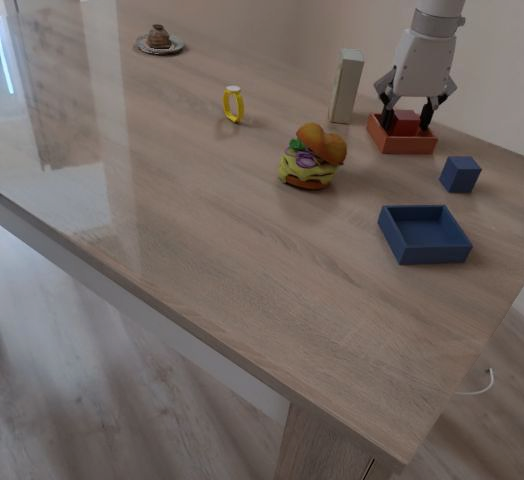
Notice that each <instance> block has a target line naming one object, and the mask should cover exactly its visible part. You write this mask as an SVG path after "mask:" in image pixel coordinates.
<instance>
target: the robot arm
mask: <svg viewBox="0 0 524 480" xmlns="http://www.w3.org/2000/svg"><path fill="white" fill-rule="evenodd" d="M465 3H466V0H417V2H416V5H415V9H414V12H413V17H412V20H411V23H410V27H407V28H405V29H404V31H403V33H402V36H401V38H400V39H399V42H398V44H397V47H396V49H395V53H394V55H393V58H392V61H391V64H390V68H389V70H388V72H387V73H386V74H383V76H381V77H380V78H378V79H377V80H376V81H375V82H374V83H373V88H374V90H375V92H376V93H377V96H378V98H379V99H380V101H381V102H382V104H383V107H382V112H381V113H382V115H381V119H380V123H381V125H382V127H383V128H384V130H385V131H388V130H389V129H390V126H391V122H392V119H393V115H394V110H395V109H394V107H395V106H396V104H397V103H398V102H399V100H401V98H402V97H407V98H408V97H409V98H410V97H411V98H426V103H424V104H423V106H422V110H421V112H420V118H419V119H420V120H421V121H420V124H419V127H420V128H421V129H422V130H423V131H427V128H428V126H429V125H431V122H432V120H433V117H434V114H435V111H437V110H438V109H440V108H439V107H440V106H441V105H442V104H443V103H445V102H446V101H447V100H448V98H449V97H450V96H452V95H453V94H454V93H455V92H456V91H457V89H458V85H457V84H456V82H455V81H454V80H453V79H452V77H451V75H450V74H451V73H450V72H451V69H452V66H453V62H454V57H455V51H456V50H455V49H456V44H457V35H456V33H457V30H458V28H460V27H464V26H465V24H466V17H465V16H462V12H463V9H464V7H465ZM386 86H387V87H388V88H390V89H389V91H388V92H387V93H386V91H385V87H386Z"/></svg>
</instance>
